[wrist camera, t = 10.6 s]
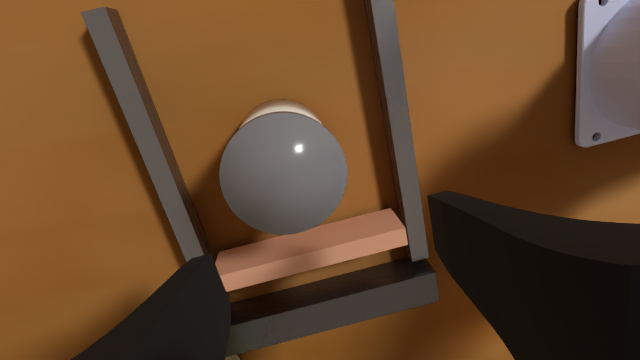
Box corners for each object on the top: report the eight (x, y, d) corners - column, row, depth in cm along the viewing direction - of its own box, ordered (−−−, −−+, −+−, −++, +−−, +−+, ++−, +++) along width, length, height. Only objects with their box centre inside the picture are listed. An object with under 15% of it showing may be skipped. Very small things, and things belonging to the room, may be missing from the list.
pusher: (390, 207, 20) (405, 227, 18) (393, 222, 21) (408, 244, 18) (218, 251, 20) (210, 278, 18) (224, 266, 20) (217, 294, 18)
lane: (377, -52, 16) (390, -66, 14) (426, 280, 23) (439, 300, 21) (94, 15, 16) (70, 9, 14) (225, 332, 22) (220, 358, 20)
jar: (319, 88, 18) (336, 101, 13) (334, 176, 20) (355, 220, 14) (224, 107, 18) (203, 128, 13) (248, 194, 19) (238, 246, 14)
